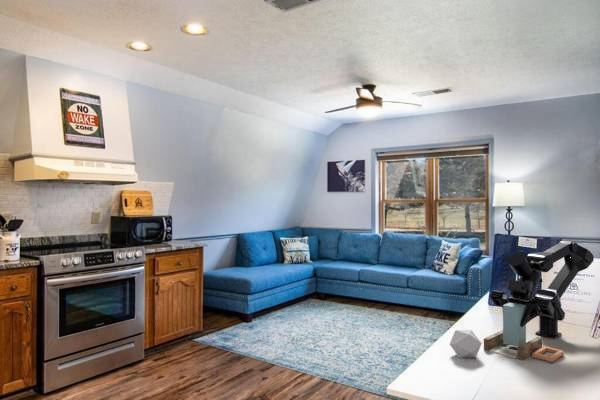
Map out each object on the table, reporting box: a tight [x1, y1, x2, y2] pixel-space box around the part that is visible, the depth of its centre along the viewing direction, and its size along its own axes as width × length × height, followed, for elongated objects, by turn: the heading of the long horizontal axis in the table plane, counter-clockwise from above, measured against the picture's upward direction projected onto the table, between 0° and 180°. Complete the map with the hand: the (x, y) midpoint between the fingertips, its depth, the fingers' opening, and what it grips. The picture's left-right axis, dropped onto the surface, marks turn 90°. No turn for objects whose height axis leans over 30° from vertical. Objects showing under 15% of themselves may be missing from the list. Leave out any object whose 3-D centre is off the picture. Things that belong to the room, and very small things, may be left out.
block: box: [502, 303, 527, 348], centre depth 138 cm, size 5×5×12 cm
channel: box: [483, 329, 543, 361], centre depth 137 cm, size 14×12×4 cm
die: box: [449, 329, 483, 359], centre depth 132 cm, size 8×9×10 cm
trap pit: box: [531, 345, 565, 364], centre depth 130 cm, size 9×6×2 cm, turn 129°
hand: (512, 324), depth 137 cm, fingers closed on block, 5 cm apart
